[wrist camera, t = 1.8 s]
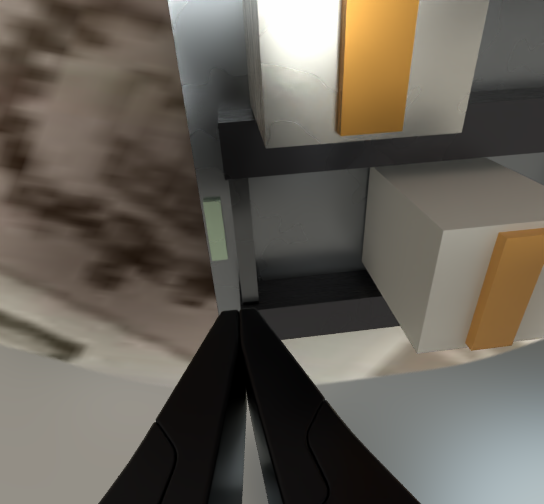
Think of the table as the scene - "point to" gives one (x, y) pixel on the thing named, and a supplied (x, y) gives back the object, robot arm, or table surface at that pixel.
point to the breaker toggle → (457, 252)
